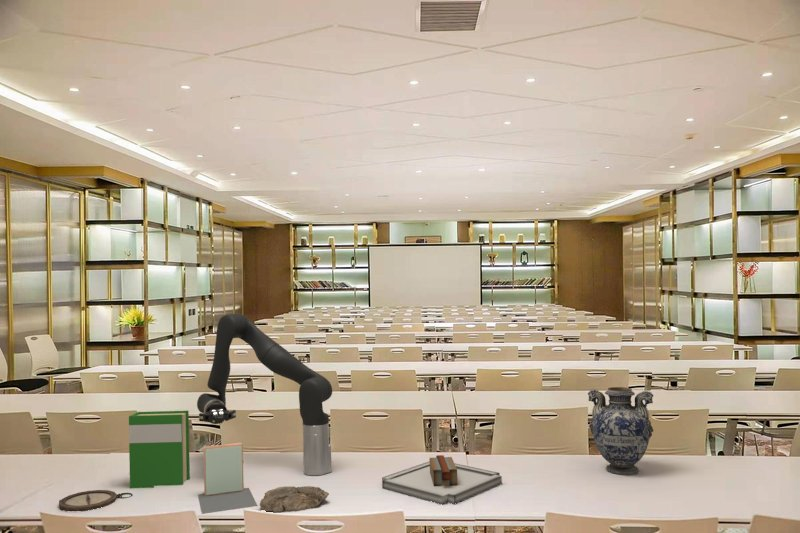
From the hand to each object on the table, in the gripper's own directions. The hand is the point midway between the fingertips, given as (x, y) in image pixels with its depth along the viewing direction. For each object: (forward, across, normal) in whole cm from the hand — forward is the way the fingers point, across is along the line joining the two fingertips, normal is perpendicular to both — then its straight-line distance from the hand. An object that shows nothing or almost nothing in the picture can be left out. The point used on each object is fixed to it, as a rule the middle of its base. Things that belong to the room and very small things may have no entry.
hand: (220, 420), depth 218 cm
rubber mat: (+17, 0, +22) cm, 28 cm away
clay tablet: (+28, +19, +22) cm, 41 cm away
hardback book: (-12, -19, +22) cm, 32 cm away
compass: (-1, -39, +23) cm, 45 cm away
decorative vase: (+43, +129, +22) cm, 138 cm away
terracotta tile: (+9, 0, +21) cm, 23 cm away
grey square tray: (+30, +67, +23) cm, 77 cm away
